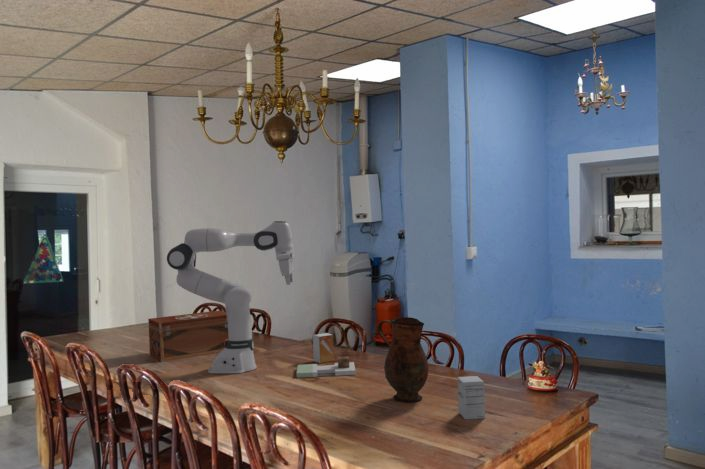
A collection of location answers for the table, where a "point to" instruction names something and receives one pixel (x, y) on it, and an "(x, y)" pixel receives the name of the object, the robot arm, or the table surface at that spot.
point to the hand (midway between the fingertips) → (289, 283)
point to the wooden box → (187, 335)
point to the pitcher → (405, 358)
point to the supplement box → (471, 397)
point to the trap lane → (324, 370)
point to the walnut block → (343, 362)
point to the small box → (323, 347)
